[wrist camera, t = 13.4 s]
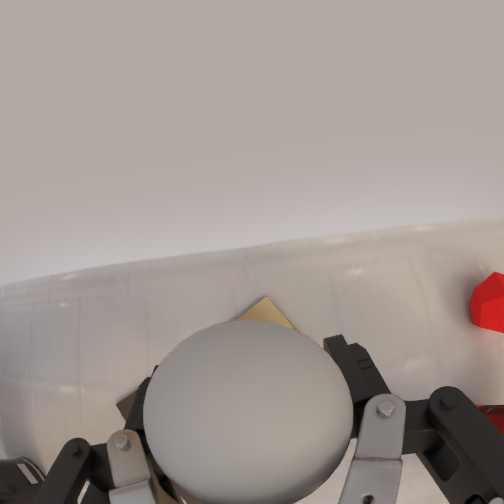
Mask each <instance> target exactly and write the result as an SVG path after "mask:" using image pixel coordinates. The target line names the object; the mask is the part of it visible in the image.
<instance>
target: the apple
mask: <svg viewBox="0 0 504 504" xmlns="http://www.w3.org/2000/svg"><path fill="white" fill-rule="evenodd" d="M470 305H471V315H472V320H473V324H474V325H477V326H479V327H482V328H486V329H490V330H494V331H498V332H502V333H504V275H503V274H500V273H497V272H494V273H493V274H491V275H490V276H489V277H488V278H487V279H486V280H485V281H483V282H482V283H481V284H480V285H479V286H477V287H476V288H475V289H474V293H473V296H472V299H471V302H470Z"/></svg>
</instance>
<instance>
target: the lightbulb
mask: <svg viewBox="0 0 504 504" xmlns="http://www.w3.org/2000/svg"><path fill="white" fill-rule="evenodd" d="M143 424H144V429H145V434H146V439H147V443H148V445H149V447H150V450H151V452H152V454H153V457H154V459H155V460H156V462H157V463H158V465H159V466H160V468H161V469H162V471H163V472H164V473H165V475H166V476H167V477H168V478H169V479H170V480H171V481H172V482H173V483H174V484H175V485H176V486H177V487H178V488H180V489H181V490H183V491H184V492H186V493H187V494H189V495H190V496H192V497H193V498H195V499H197V500H199V501H201V502H203V503H206V504H293V503H295V502H297V501H299V500H301V499H303V498H304V497H306V496H308V495H310V494H311V493H313V492H314V491H315V490H316V489H317V488H318V487H320V486H321V485H322V484H323V483H324V482H325V481H326V480H327V479H328V478H329V477H330V476H331V475H332V473H333V472H334V471H335V469H336V468H337V467H338V465H339V464H340V463H341V461H342V459H343V457H344V455H345V452H346V450H347V448H348V446H349V443H350V438H351V434H352V429H353V404H352V399H351V395H350V391H349V387H348V385H347V383H346V380H345V378H344V376H343V374H342V372H341V370H340V368H339V367H338V366H337V364H336V363H335V362H334V360H333V359H332V358H331V357H330V355H329V354H328V353H327V352H326V351H325V350H324V349H323V348H321V347H320V346H319V345H318V344H317V343H316V342H315V341H313V340H312V339H310V338H308V337H307V336H305V335H303V334H301V333H300V332H298V331H296V330H294V329H291V328H288V327H285V326H282V325H279V324H276V323H270V322H264V321H258V320H237V321H230V322H225V323H220V324H215V325H213V326H210V327H208V328H205V329H203V330H200V331H198V332H196V333H194V334H193V335H191V336H190V337H188V338H187V339H185V340H183V341H182V342H180V343H179V344H178V345H177V346H176V347H175V348H174V349H173V350H172V351H171V352H170V353H169V354H168V355H167V356H166V357H165V358H164V359H163V361H162V362H161V363H160V365H159V366H158V368H157V369H156V371H155V372H154V374H153V376H152V379H151V381H150V383H149V386H148V388H147V392H146V396H145V401H144V406H143Z"/></svg>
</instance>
